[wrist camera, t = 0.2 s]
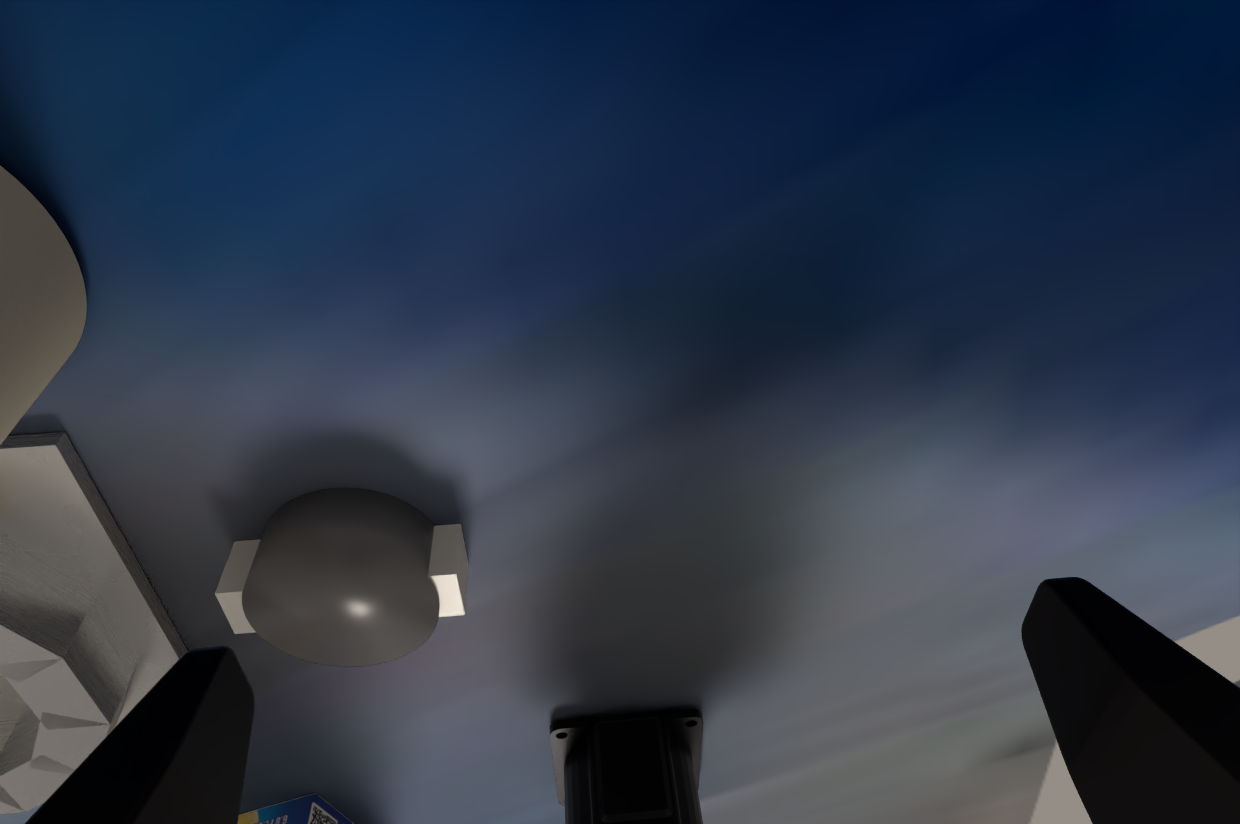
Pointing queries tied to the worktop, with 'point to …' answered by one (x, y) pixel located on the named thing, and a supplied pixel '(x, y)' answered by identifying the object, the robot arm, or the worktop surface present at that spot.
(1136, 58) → the worktop surface
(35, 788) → the grey faceted ring
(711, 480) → the worktop surface
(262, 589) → the cap
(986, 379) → the worktop surface
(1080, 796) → the robot arm
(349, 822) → the beverage box
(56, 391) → the worktop surface
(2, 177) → the travel mug
